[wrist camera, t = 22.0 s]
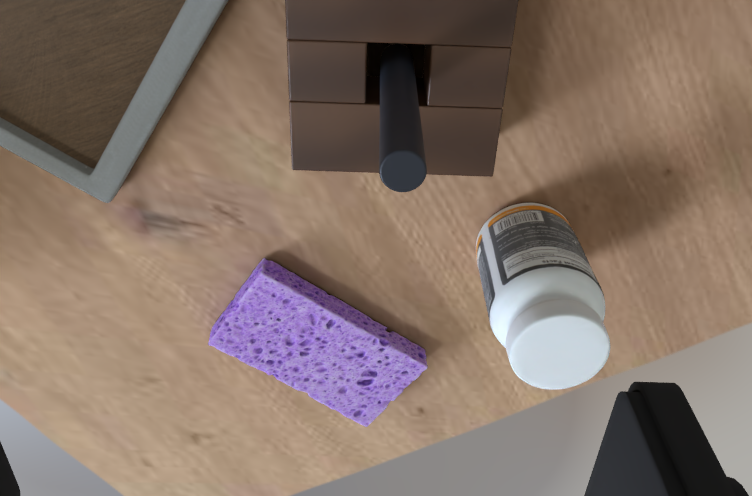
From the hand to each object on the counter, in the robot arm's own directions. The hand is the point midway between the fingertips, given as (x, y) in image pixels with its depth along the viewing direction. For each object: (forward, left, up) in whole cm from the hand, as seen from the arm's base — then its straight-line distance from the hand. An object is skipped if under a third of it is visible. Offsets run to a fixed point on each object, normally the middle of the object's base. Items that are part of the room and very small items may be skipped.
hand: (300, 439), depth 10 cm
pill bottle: (+13, +10, -26) cm, 31 cm away
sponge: (+21, -2, -26) cm, 34 cm away
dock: (+2, +2, -26) cm, 26 cm away
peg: (+2, +2, -26) cm, 26 cm away
